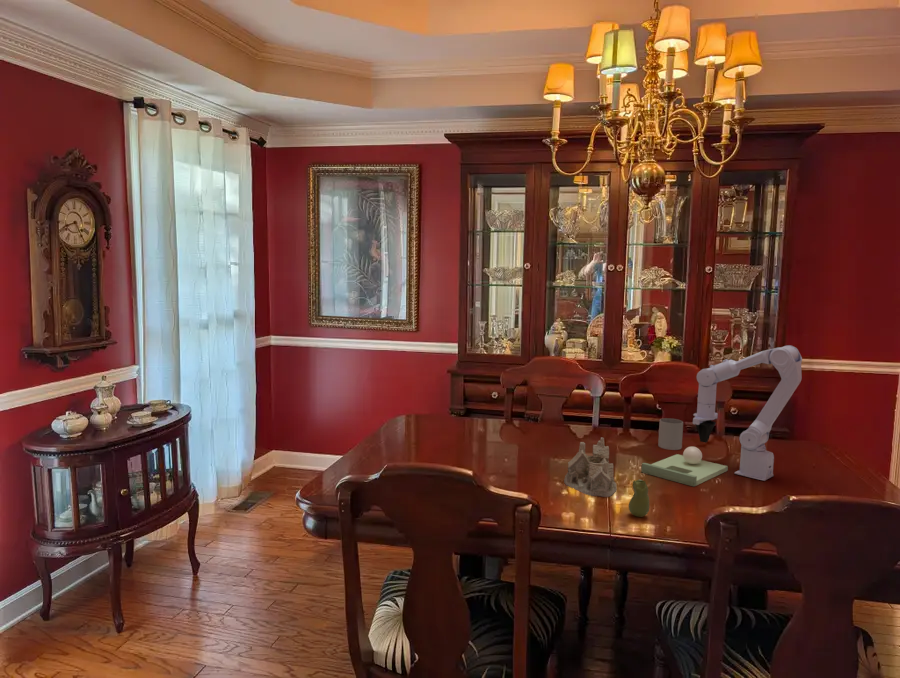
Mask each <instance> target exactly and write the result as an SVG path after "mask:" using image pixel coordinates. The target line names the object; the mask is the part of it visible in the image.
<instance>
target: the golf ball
mask: <svg viewBox="0 0 900 678" xmlns="http://www.w3.org/2000/svg"><path fill="white" fill-rule="evenodd" d="M682 455H683V457H684V460H685V461H686V462H687V463H689V464H692V465H694V464H698V463H699V462H700V461H701V460H703V459H702V458H703V453H702V451H701V450H700V449H699V448H698V447H696V446H688V447H686V448H685V449H684V451H683V453H682Z"/></svg>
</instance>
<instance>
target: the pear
mask: <svg viewBox="0 0 900 678" xmlns="http://www.w3.org/2000/svg"><path fill="white" fill-rule="evenodd" d="M632 489H633V495H632V497H631V499H630V501H629V503H628V510H629V512H630V514H631V515H633V516H634V517H636V518H643V517H645V516H647V514H648V513H649V511H650V497H649V487H648V484H646V480H643V479H635V480H632Z"/></svg>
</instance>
